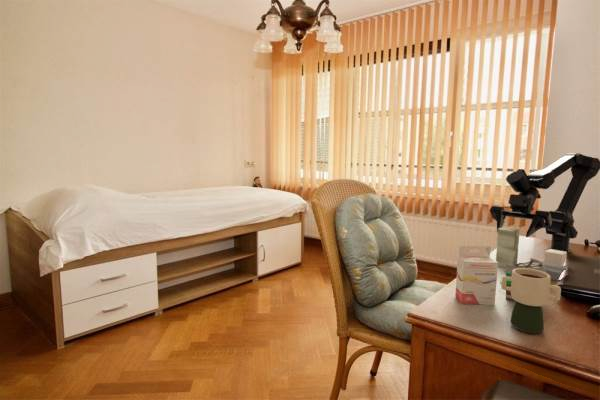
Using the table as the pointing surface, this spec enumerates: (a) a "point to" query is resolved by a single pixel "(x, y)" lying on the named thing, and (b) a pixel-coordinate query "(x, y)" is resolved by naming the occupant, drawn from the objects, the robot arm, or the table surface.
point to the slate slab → (554, 270)
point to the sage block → (507, 246)
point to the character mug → (529, 297)
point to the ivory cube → (555, 256)
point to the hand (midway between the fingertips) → (511, 234)
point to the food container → (530, 265)
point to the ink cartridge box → (476, 276)
